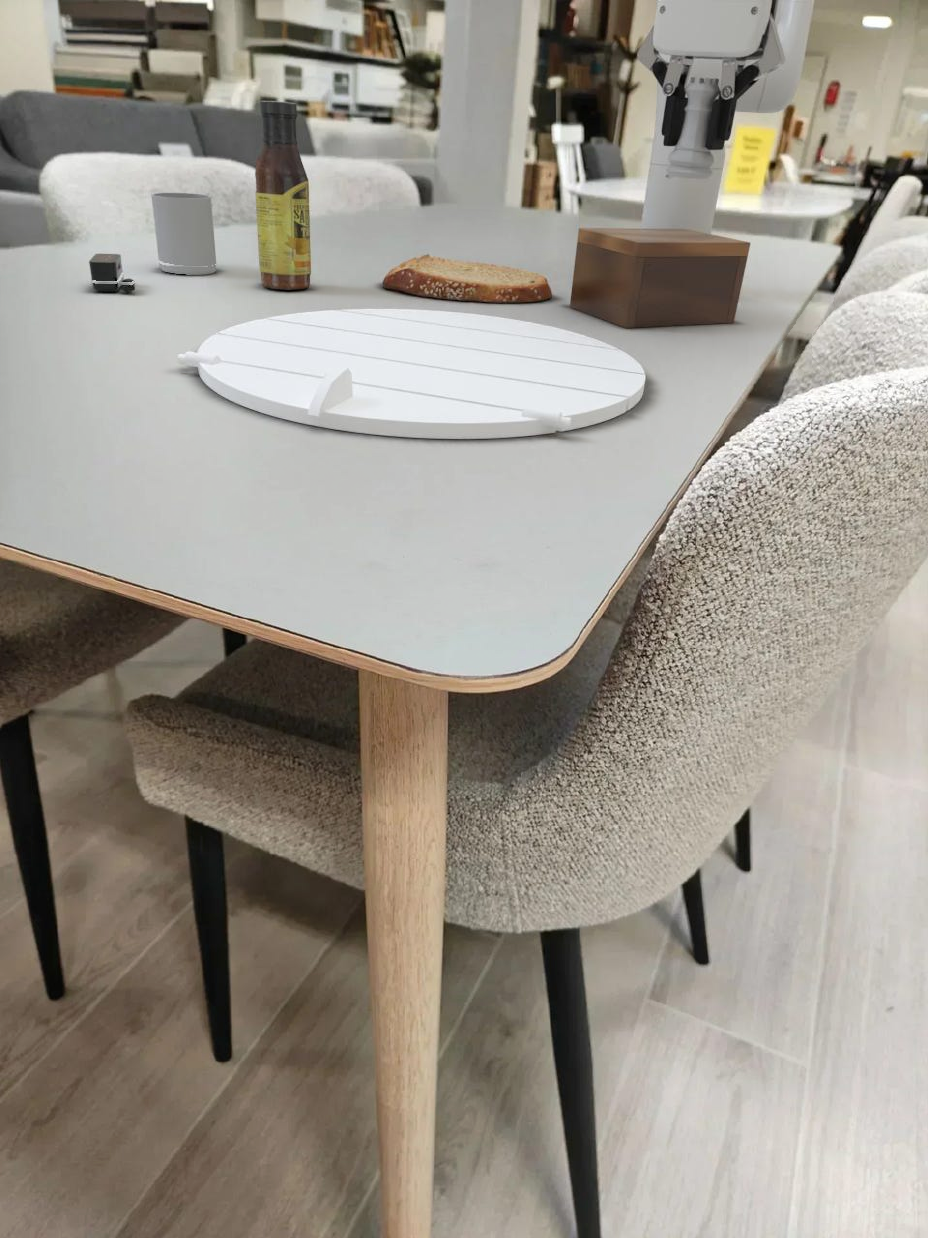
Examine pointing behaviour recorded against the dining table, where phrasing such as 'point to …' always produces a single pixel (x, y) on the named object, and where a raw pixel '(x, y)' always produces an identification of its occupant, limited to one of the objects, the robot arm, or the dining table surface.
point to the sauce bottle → (282, 202)
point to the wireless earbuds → (108, 273)
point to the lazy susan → (419, 373)
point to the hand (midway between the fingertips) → (693, 145)
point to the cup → (184, 232)
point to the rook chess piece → (695, 132)
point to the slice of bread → (466, 281)
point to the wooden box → (657, 276)
